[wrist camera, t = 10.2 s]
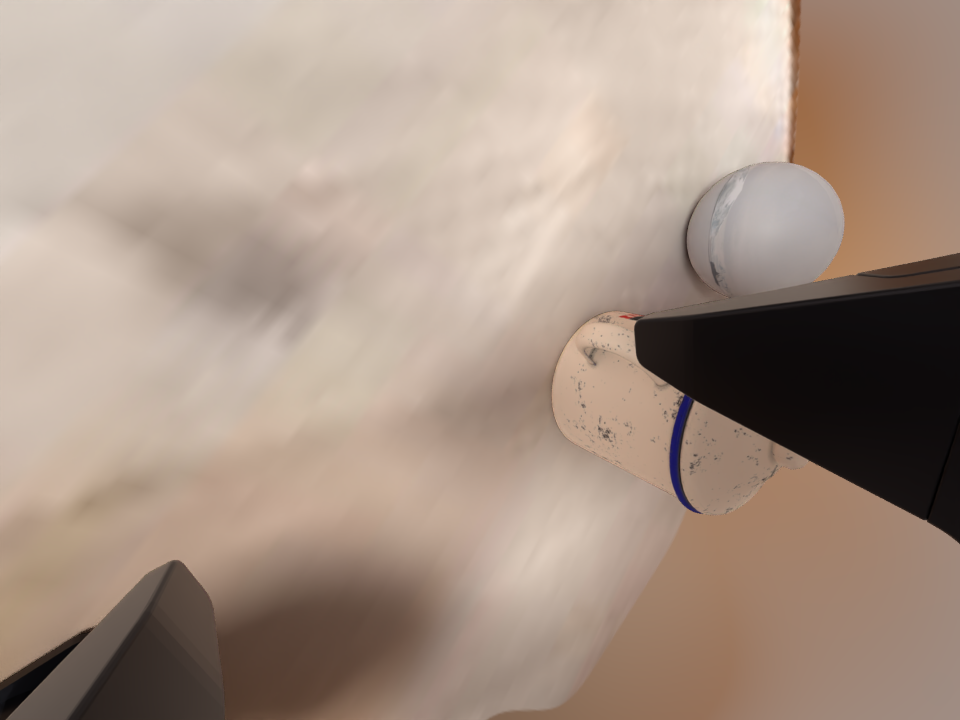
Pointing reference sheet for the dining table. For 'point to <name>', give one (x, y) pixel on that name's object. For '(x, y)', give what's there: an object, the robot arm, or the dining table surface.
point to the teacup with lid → (656, 423)
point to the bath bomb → (765, 229)
